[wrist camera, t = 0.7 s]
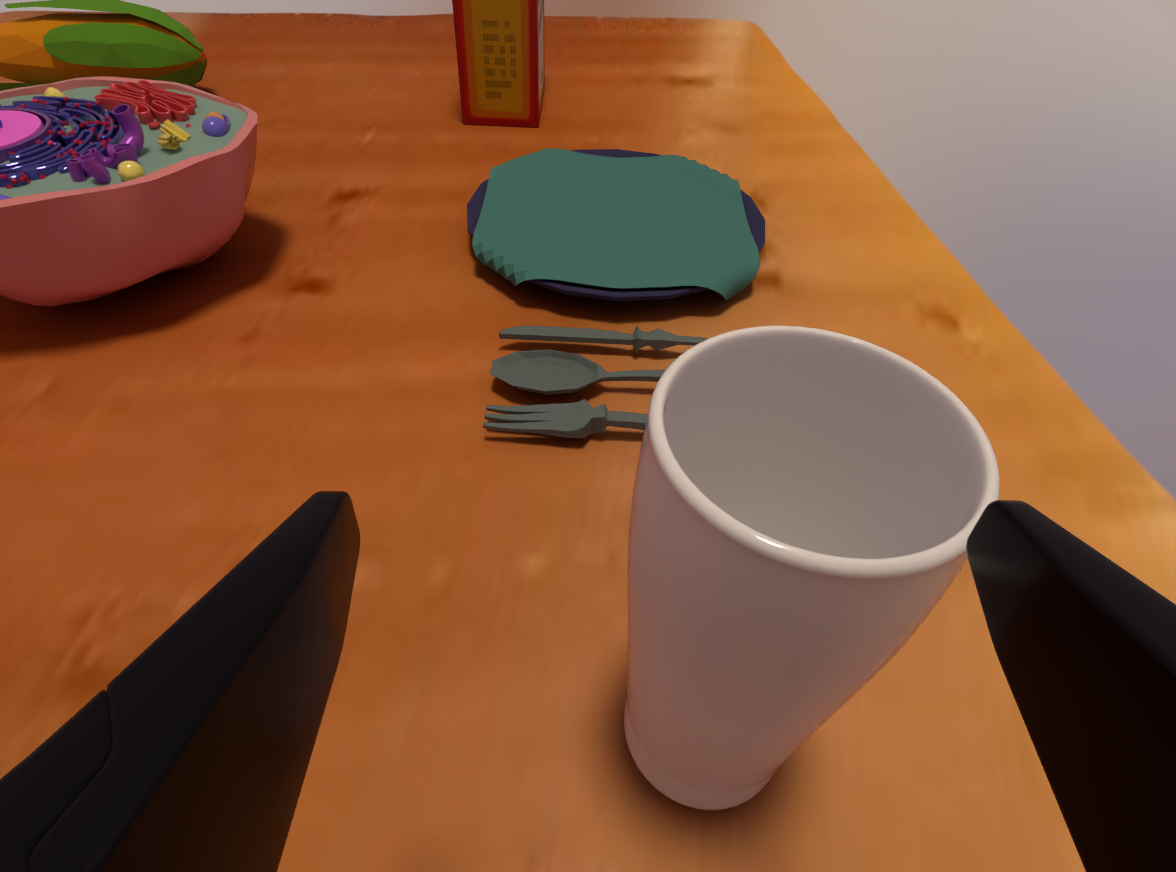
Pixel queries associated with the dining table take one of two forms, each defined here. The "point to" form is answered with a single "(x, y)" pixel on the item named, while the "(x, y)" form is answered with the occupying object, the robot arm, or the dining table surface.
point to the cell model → (116, 184)
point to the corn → (98, 45)
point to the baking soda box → (500, 61)
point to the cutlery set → (605, 261)
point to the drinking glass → (784, 545)
